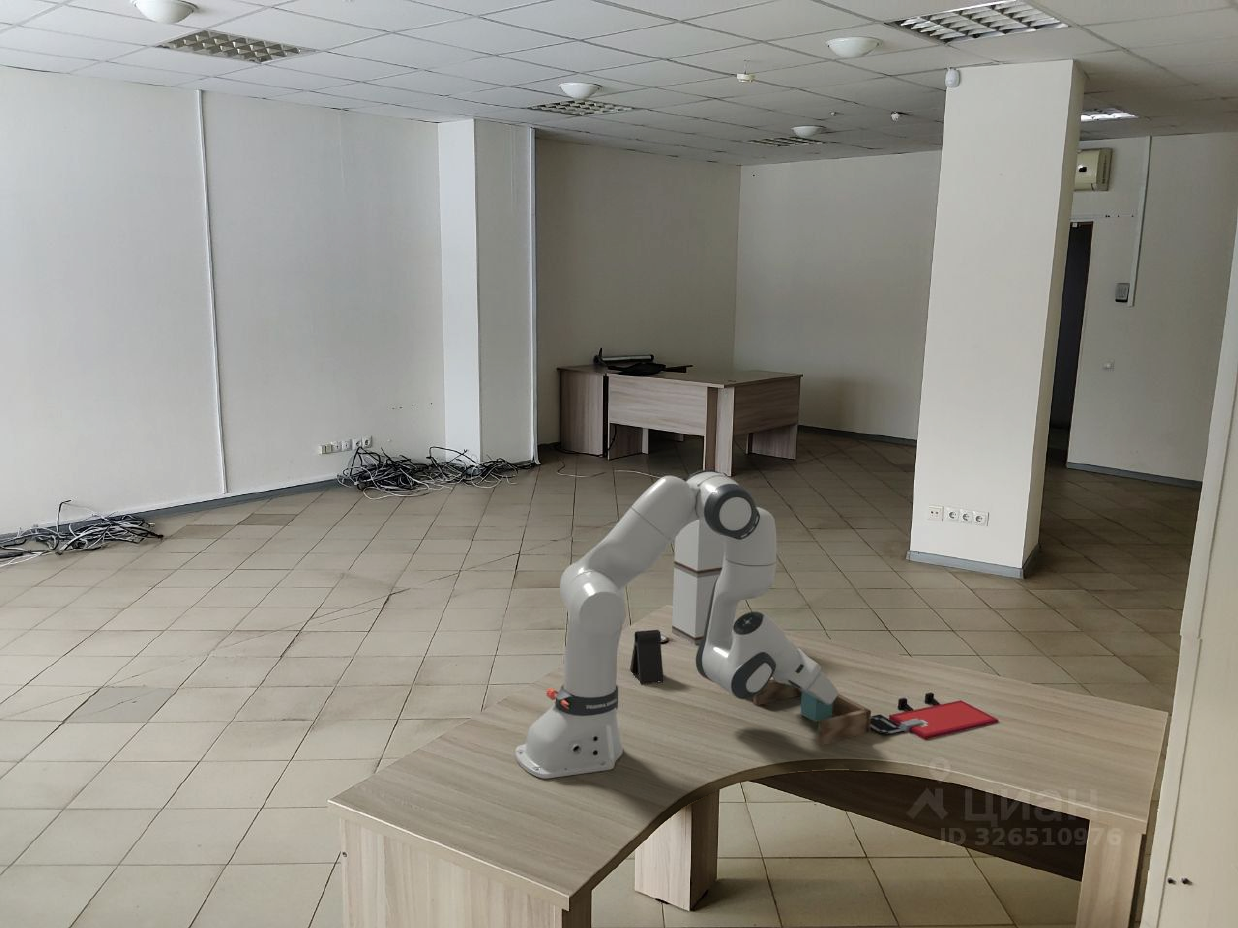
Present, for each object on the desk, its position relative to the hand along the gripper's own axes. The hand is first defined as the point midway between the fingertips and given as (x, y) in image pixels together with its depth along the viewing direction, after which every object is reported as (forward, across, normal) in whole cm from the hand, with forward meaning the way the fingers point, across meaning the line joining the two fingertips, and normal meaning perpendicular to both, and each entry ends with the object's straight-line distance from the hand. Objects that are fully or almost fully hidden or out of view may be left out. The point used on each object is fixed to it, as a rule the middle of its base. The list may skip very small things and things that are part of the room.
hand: (816, 695), depth 220 cm
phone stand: (-12, -38, -20) cm, 44 cm away
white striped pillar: (+8, -56, +1) cm, 57 cm away
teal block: (+4, 0, -3) cm, 5 cm away
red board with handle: (+19, +14, +11) cm, 26 cm away
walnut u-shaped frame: (+2, 0, -5) cm, 5 cm away
